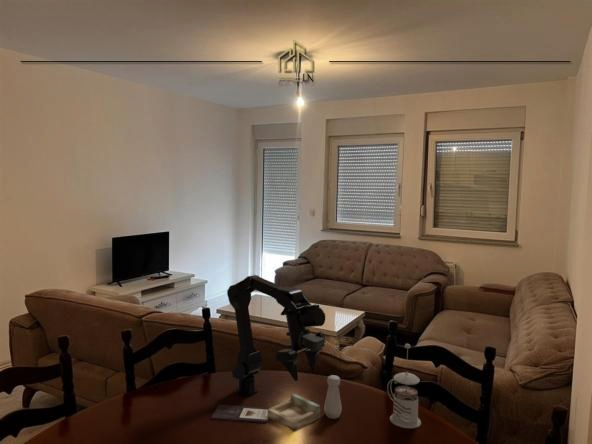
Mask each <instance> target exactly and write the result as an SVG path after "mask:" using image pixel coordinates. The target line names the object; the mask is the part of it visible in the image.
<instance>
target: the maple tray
mask: <svg viewBox="0 0 592 444" xmlns="http://www.w3.org/2000/svg"><path fill="white" fill-rule="evenodd" d="M268 408H269V409H268V416H269V418H268V419H271V420H272V421H274V422H277V423H278V424H279V425H281V426H283V427H285V428H287V429H289V430H291V431H293V432H295V431H296V430H297V431H298V430H299V429H301V428H303V427H305V426H307V425H309V424H311V423H313V422H314V421H317V420H318V419H320V418H321V405H319V403H316V402H313V401H311V400H309V399H307V398H305V397H303V396H300V395H298V394H296V393H292V394H290V398H289V399H288V400H285V401H283V402H280V403H279V404H277V405H273V406H272V407H268Z"/></svg>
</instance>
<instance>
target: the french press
mask: <svg viewBox="0 0 592 444" xmlns="http://www.w3.org/2000/svg"><path fill="white" fill-rule="evenodd" d="M404 348H405V349H407V350H406V364H408V360H409V357H408V356H409V349H411V348H412V347H411V344H409V343H405V344H404ZM393 381H394V384H402V385H400V386H396V387H395V388H394V393H393V391H392V385H390V384H392V383H393ZM419 383H420V378H419V377H418V376H417V375H415V374H413V373H410V372H406V371H405V372H399V373H396V374H395V375H394V376H393V379H390V380H389V381H388V383H387V385H386V386H387V388H386V390H387V394H388V396H389V398H390V400H392V402H393V407H392V409H393V410H392V411H393V412H392V414H391V416H389V420H390V422H391V423H392V424H393V425H395V426H397V427H400V428H404V429H416V428H418V427H420V426H421V425H422V421H421V419H420V418H419V395H418V390H417V389H416V388H414V387H411V386H414V385H417V384H419ZM389 385H390V392H391V395H392V396H391V395H390V392H389ZM392 397H393V398H392Z"/></svg>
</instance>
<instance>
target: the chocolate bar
mask: <svg viewBox="0 0 592 444" xmlns="http://www.w3.org/2000/svg"><path fill="white" fill-rule="evenodd" d="M269 408H270V407H261V406H246V405H232V404H231V405H230V404H220V403H219V404H218V405H217V406H216V409H215V410H214V412H213V414H212V415H211V417H210V419H211V420H214V421H215V420H216V421H230V422H242V421H244V422H243V423H255V422H259V423H258V424H267V423H268V421H269V419H270V418H269V416H268V409H269Z"/></svg>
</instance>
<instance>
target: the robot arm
mask: <svg viewBox="0 0 592 444" xmlns="http://www.w3.org/2000/svg"><path fill="white" fill-rule="evenodd" d="M254 291H258V292H260V293H262V294H264V295H267V296H269V297H271V298H273V299H274V300H275V301H276V303H277V304H279V305H280V306H281V307H283V310H282V311H281V312H280V316H285V318H286V322H287V328H288V329H287V330H288V331H287V332H286V336H287V337H289V340H290V344H289V345H288V348H283V349H280V350H279V351H277V352H276V353H275V360H276V362H279V364H282V365H283V366H284V367H285V369H286V370H287V372H288V373H289V374H290V376H291V378H292V379H293V381H295V382H297V381H299V376H298V367H297V363H298V362H299V358H298V354H300V353H303V352H304V354H305V357H306V359H307V362H308V365H309V368H310V370H311V372H312V373H316V371H317V370H316V369H317V362H318V356H319V353H320V352H321V351H323V348H324V347H325V343H326V336H325V334H324V332H322V331H319V332H317V333H314V334H313V333H311V330H310V329H309V328H310V327H311V328H312V327H314V328H315V327H322V326H323V325H324V324H325V322H326V313H325V312H324V310H323V309H322V308H321V307H320V304H319V303H315V304H312V303H311V302H310V301H309V300H308V299H307V297H306V296H305V295H304V294H303V291H302V290H301V289H300V288H297V287H292V286H283V285H280V284H277V283H275V282H272V281H270V280H267V279H265V278H263V277H260V276H259V275H257V274H253V275H249V276H246V277H245V278H244V279H242V280H240V281H239V282H237V283H235V284H232V285H230V286H229V287H228V289H227V291H226V295H227V297H228V298H227V299H228V302H229V304H230V305H231V306H232V308H233V309H234V314H235V320H236V327H237V329H236V330H237V335H238V336H237V337H238V342H239V347H240V348H239V349H240V350H239V353H238V355H237V366H236V367H234V368H233V369H232V370H231V375H232V377H233V378H234V379H236V388H234V389H233V393H235V394H237V395H239V396H240V397H243V398H246V397H249V396H251V395H253V394H257V393H258V390H257V389H256V388H255V386H256V382H255V375H257V374H259V372H260V369H261V368H262V366H263V365H262V363H263V359H262V352H261V350H258V349H257V348H256V347H255V344H254V339H253V338H254V337H253V331H252V330H253V329H252V325H251V324H252V323H251V322H252V321H251V317H250V309H249V306H250V304H251V300H252V293H253V292H254Z"/></svg>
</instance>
